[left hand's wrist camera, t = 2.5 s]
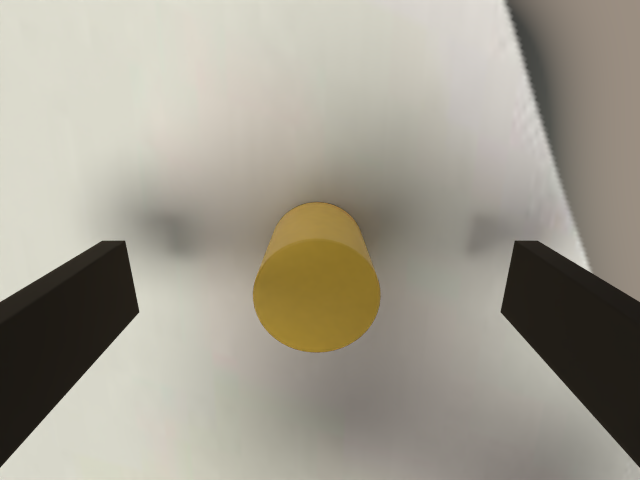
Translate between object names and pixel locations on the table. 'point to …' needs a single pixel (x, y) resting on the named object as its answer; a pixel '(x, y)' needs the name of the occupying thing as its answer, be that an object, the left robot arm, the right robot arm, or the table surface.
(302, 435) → the table surface
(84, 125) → the table surface
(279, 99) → the table surface
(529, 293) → the left robot arm
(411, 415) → the table surface
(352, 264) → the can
